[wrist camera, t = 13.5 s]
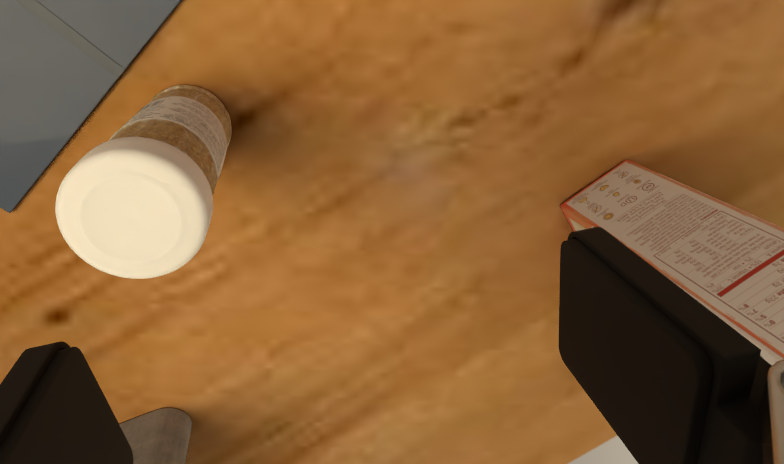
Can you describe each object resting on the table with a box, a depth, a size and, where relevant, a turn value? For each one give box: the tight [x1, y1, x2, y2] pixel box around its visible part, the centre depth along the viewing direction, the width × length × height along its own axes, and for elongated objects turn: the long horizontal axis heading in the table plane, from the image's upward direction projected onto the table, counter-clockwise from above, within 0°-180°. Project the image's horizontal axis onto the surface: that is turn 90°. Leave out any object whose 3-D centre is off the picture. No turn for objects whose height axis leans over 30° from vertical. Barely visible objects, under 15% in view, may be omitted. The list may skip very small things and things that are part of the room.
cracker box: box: [560, 160, 784, 365], centre depth 29 cm, size 14×6×21 cm, turn 33°
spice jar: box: [55, 85, 232, 279], centre depth 22 cm, size 5×5×14 cm
